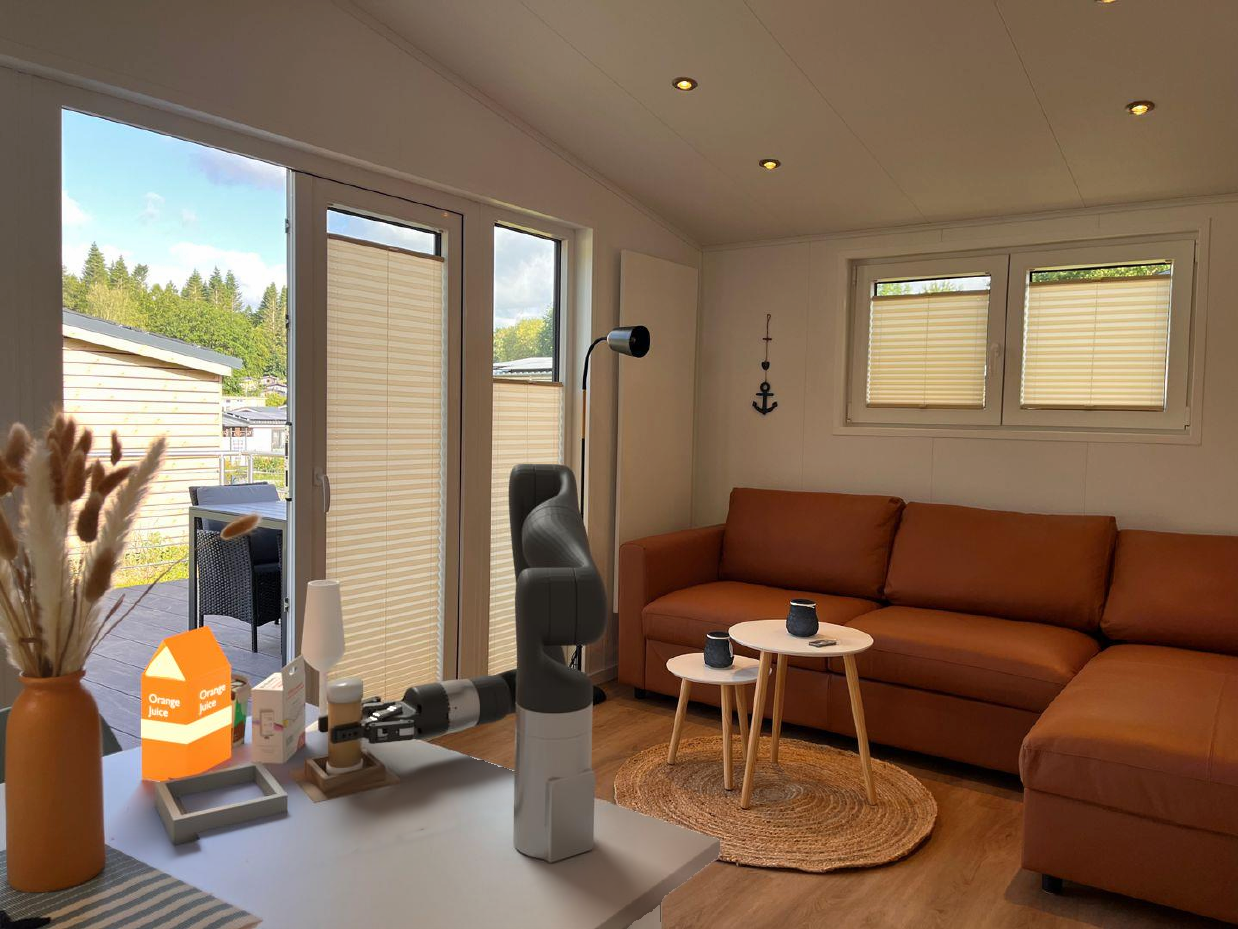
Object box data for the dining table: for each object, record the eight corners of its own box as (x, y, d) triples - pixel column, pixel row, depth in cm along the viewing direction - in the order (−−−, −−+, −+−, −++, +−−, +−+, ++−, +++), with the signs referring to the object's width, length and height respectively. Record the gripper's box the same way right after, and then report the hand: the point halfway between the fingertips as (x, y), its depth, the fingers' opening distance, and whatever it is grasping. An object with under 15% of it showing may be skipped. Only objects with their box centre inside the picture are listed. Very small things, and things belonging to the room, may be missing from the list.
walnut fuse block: (403, 789, 122) (403, 767, 122) (314, 810, 115) (314, 787, 115) (371, 760, 132) (371, 740, 132) (287, 778, 125) (287, 757, 125)
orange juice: (232, 763, 130) (231, 627, 129) (187, 787, 121) (186, 641, 120) (187, 757, 132) (186, 622, 131) (140, 780, 123) (139, 636, 122)
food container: (271, 742, 138) (271, 678, 138) (239, 756, 132) (239, 689, 132) (212, 729, 143) (212, 668, 143) (179, 742, 138) (179, 678, 137)
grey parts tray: (287, 818, 113) (287, 795, 112) (173, 845, 105) (173, 820, 105) (260, 782, 123) (260, 761, 123) (155, 805, 116) (155, 782, 115)
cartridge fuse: (367, 778, 123) (368, 685, 122) (332, 786, 120) (333, 690, 119) (355, 766, 127) (356, 676, 126) (321, 774, 124) (321, 681, 123)
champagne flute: (293, 737, 140) (294, 586, 139) (310, 722, 147) (311, 578, 146) (336, 739, 140) (336, 587, 139) (350, 724, 147) (351, 579, 146)
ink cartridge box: (274, 747, 136) (274, 652, 135) (306, 748, 136) (306, 653, 135) (249, 769, 128) (249, 668, 127) (284, 770, 128) (284, 669, 127)
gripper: (421, 671, 137) (308, 689, 127) (463, 695, 125) (342, 718, 115) (421, 719, 137) (308, 741, 127) (462, 748, 126) (342, 775, 116)
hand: (325, 730), depth 121 cm, fingers closed on cartridge fuse, 4 cm apart
